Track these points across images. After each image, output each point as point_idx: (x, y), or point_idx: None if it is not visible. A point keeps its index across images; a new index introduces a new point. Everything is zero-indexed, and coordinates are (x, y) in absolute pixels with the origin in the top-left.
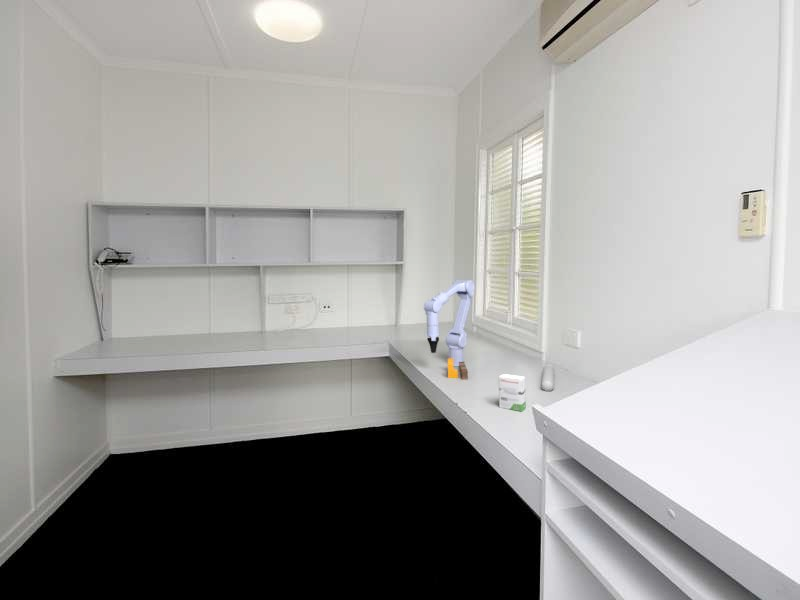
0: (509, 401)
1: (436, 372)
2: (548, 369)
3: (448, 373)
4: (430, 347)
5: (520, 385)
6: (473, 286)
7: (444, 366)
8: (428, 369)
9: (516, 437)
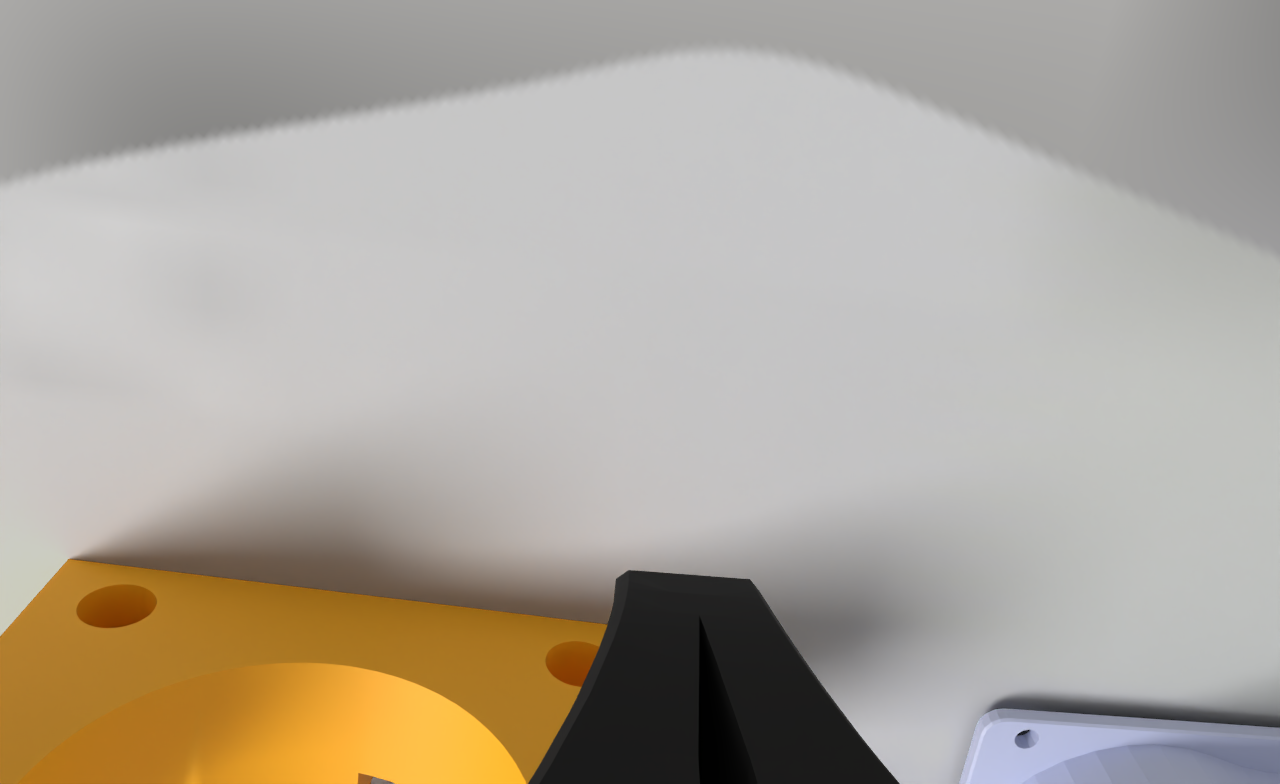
0: None
1: (555, 374)
2: None
3: (13, 635)
4: (555, 741)
5: None
6: None
7: (1040, 610)
8: (885, 205)
9: None
